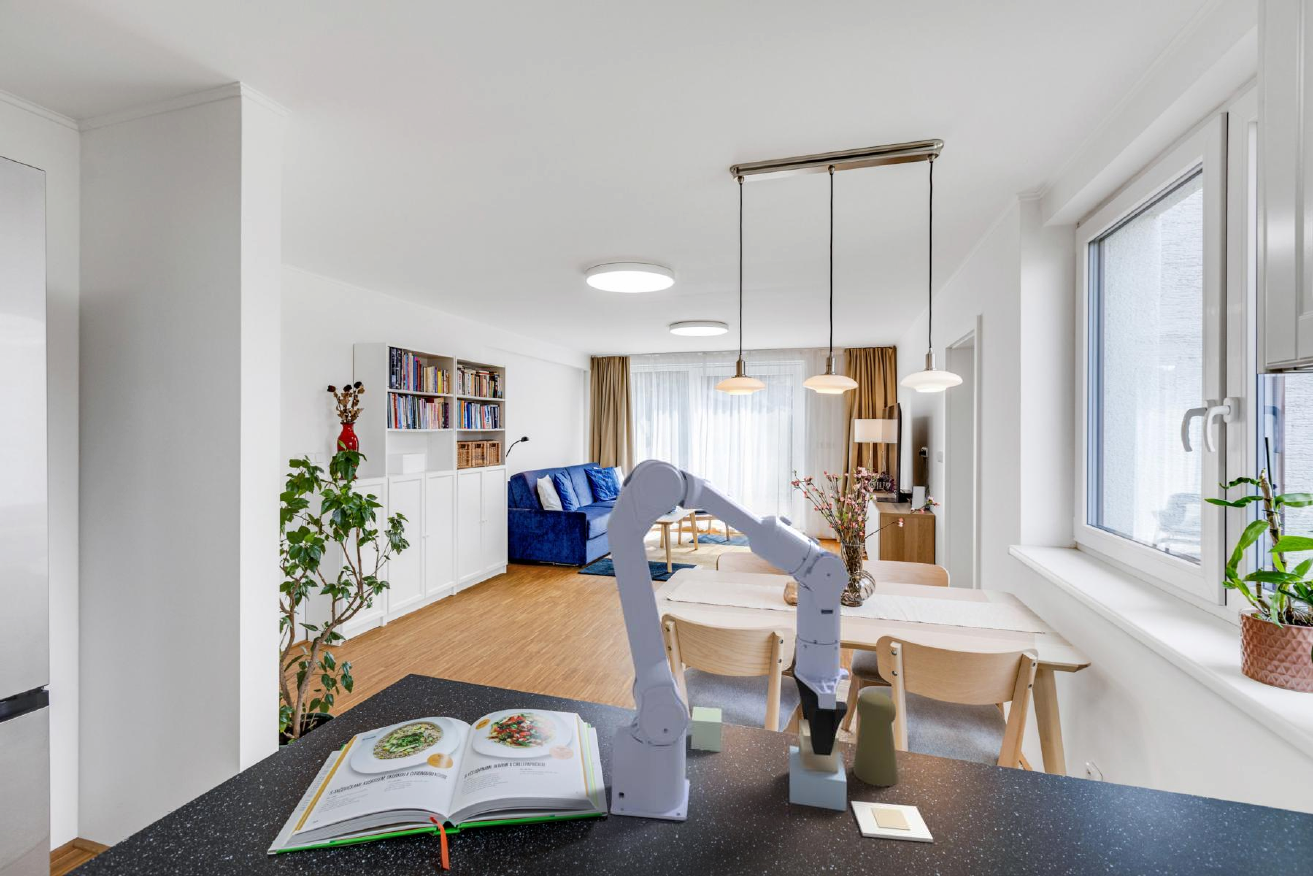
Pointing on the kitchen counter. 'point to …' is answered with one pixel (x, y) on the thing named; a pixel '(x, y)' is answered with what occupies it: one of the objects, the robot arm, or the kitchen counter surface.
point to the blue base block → (817, 784)
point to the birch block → (808, 756)
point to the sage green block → (706, 728)
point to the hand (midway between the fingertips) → (816, 738)
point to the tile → (891, 821)
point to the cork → (876, 740)
